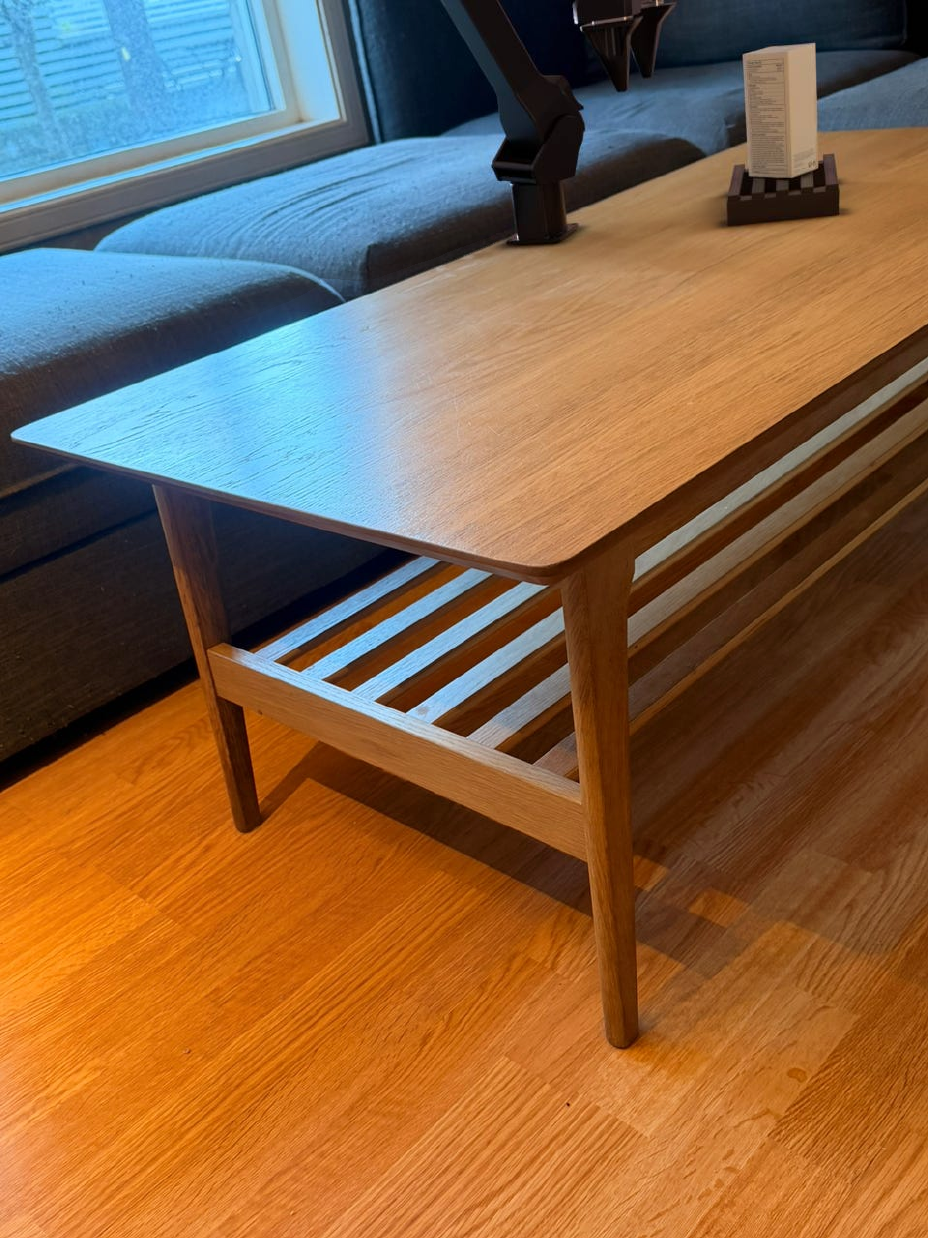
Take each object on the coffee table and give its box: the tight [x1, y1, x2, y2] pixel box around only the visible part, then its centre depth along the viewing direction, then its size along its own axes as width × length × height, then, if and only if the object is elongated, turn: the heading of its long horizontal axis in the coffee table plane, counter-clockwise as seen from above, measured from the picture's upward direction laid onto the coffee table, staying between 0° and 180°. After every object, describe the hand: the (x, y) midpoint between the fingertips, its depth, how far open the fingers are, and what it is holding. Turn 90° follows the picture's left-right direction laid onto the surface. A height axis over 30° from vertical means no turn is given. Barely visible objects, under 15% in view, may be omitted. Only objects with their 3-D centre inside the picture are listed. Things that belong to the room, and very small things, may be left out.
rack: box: [726, 152, 841, 227], centre depth 121 cm, size 16×11×3 cm
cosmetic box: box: [742, 42, 819, 178], centre depth 117 cm, size 6×4×12 cm
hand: (635, 84), depth 124 cm, fingers open, 9 cm apart
